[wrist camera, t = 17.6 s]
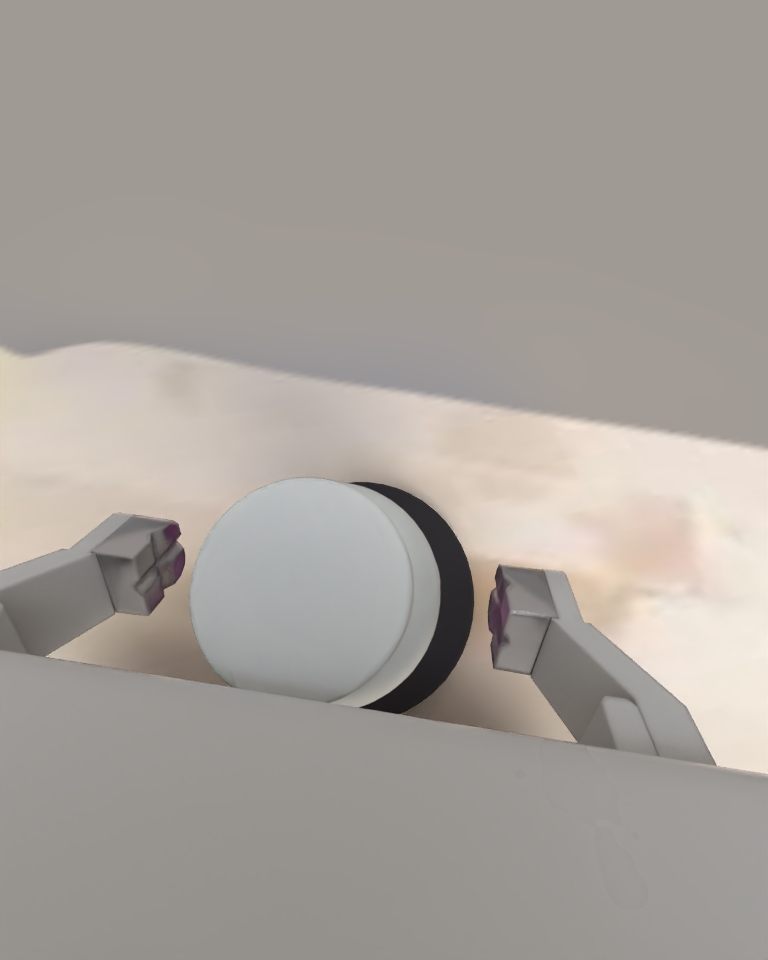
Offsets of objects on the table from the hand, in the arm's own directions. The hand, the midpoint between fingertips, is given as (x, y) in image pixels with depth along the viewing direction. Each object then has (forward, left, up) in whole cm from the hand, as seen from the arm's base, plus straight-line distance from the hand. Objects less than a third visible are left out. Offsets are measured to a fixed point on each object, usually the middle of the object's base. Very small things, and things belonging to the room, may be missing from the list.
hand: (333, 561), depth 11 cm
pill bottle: (0, -1, -6) cm, 7 cm away
